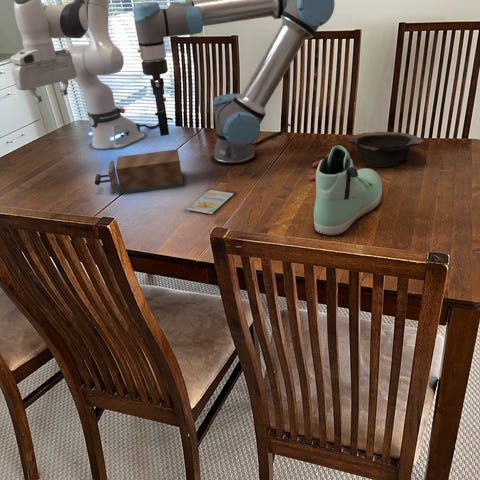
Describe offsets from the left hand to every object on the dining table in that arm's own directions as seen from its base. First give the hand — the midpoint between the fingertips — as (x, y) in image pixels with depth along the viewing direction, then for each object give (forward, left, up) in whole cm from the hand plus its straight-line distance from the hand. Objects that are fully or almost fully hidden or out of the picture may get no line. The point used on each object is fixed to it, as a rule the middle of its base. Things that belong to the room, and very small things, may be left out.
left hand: (52, 98), depth 157 cm
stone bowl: (-78, +78, -29) cm, 114 cm away
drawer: (-10, +23, -28) cm, 38 cm away
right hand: (-21, +31, -10) cm, 38 cm away
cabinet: (-15, +27, -29) cm, 42 cm away
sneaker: (-39, +89, -29) cm, 102 cm away
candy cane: (-55, +67, -29) cm, 91 cm away
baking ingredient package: (-18, +54, -29) cm, 64 cm away
